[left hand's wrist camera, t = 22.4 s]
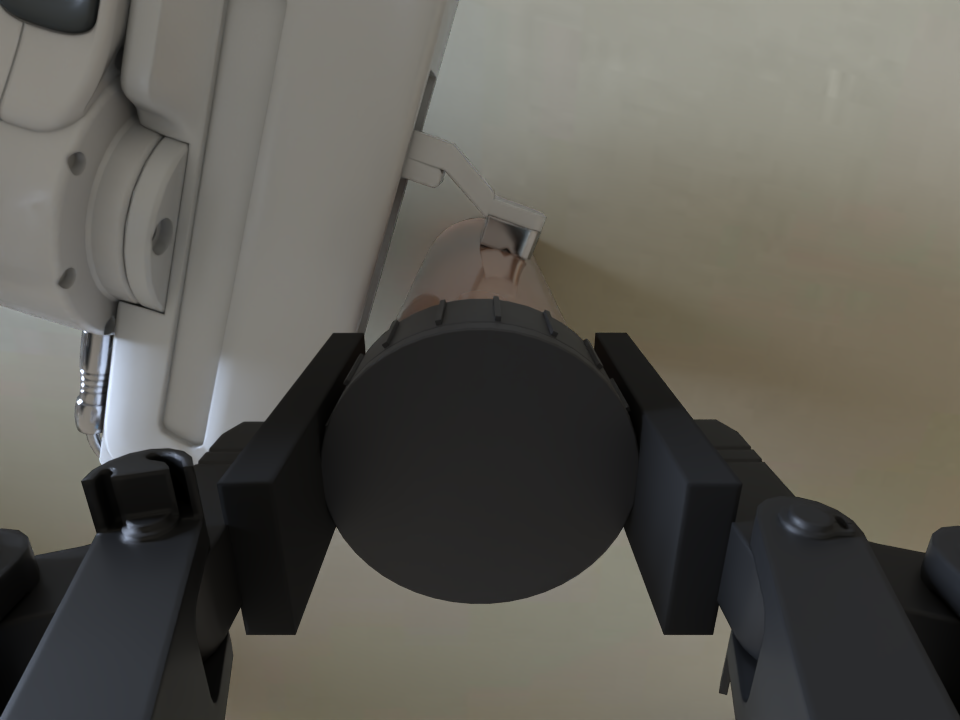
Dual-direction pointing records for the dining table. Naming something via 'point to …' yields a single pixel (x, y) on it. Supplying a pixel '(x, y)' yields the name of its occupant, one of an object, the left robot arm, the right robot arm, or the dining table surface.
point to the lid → (479, 453)
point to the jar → (476, 274)
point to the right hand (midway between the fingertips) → (504, 324)
